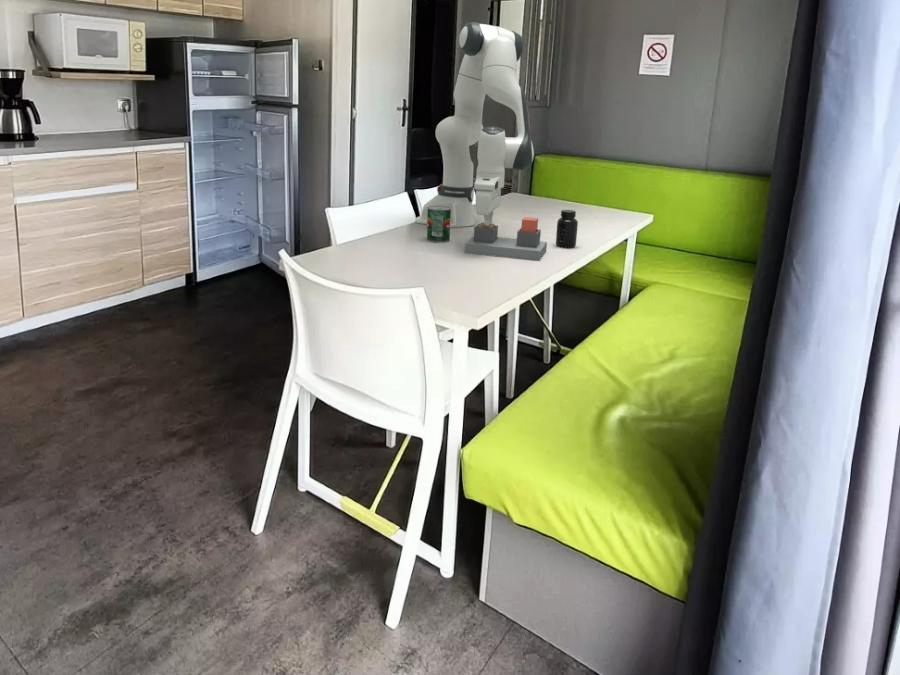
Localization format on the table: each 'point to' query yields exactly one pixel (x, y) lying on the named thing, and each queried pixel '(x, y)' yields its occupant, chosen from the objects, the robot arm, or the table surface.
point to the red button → (529, 225)
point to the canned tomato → (438, 223)
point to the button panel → (506, 244)
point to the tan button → (486, 226)
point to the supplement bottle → (567, 229)
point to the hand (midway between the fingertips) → (487, 224)
